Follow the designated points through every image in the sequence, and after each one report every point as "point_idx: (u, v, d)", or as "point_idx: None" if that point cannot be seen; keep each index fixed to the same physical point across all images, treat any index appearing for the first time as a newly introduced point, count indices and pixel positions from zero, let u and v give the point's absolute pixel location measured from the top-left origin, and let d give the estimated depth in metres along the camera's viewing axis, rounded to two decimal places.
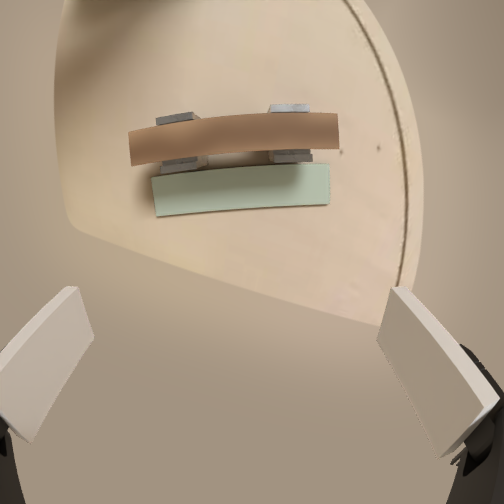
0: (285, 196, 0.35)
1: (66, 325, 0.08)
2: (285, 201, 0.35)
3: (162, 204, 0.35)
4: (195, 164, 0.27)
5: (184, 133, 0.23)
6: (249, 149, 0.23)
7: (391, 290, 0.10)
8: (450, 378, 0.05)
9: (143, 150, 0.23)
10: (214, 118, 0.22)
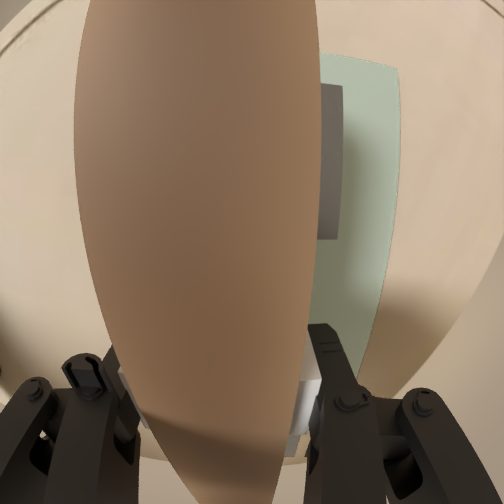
0: (381, 166, 0.13)
1: None
2: (390, 167, 0.13)
3: None
4: None
5: (214, 484, 0.07)
6: (288, 401, 0.05)
7: None
8: None
9: None
10: (166, 451, 0.06)
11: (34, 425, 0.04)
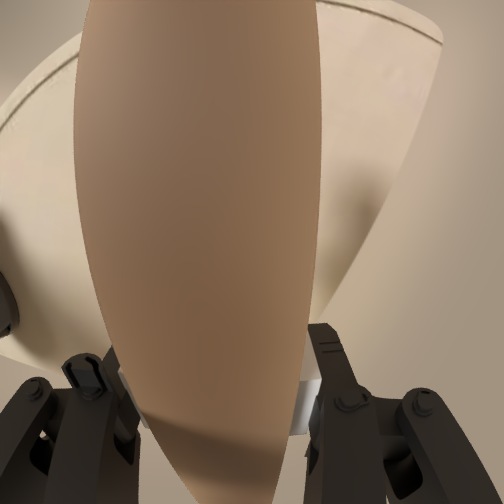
0: None
1: None
2: None
3: None
4: None
5: (214, 484, 0.07)
6: (288, 402, 0.05)
7: None
8: None
9: None
10: (166, 452, 0.06)
11: (34, 425, 0.04)
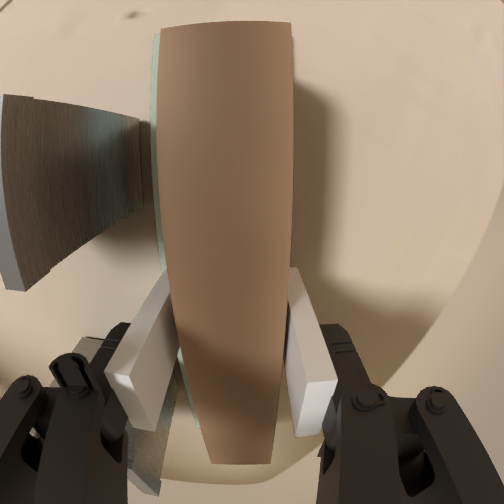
0: None
1: None
2: None
3: None
4: None
5: (224, 418, 0.10)
6: (281, 311, 0.08)
7: None
8: (295, 350, 0.07)
9: (246, 455, 0.12)
10: (189, 376, 0.09)
11: (24, 422, 0.04)
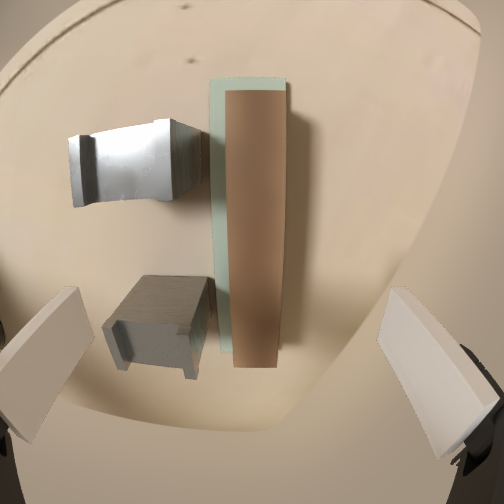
0: None
1: (66, 325, 0.08)
2: None
3: None
4: (180, 336, 0.15)
5: (247, 310, 0.19)
6: (282, 229, 0.16)
7: (391, 290, 0.10)
8: (450, 378, 0.05)
9: (260, 355, 0.20)
10: (230, 272, 0.18)
11: None
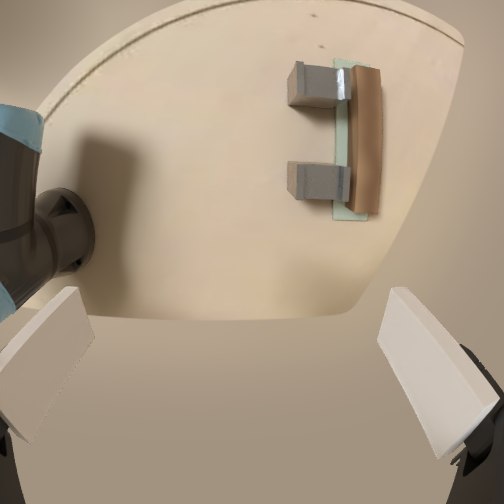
0: None
1: (66, 325, 0.08)
2: None
3: None
4: (346, 167, 0.28)
5: (365, 170, 0.31)
6: (381, 127, 0.29)
7: (391, 290, 0.10)
8: (450, 378, 0.05)
9: (369, 202, 0.33)
10: (358, 146, 0.30)
11: None
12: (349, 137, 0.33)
